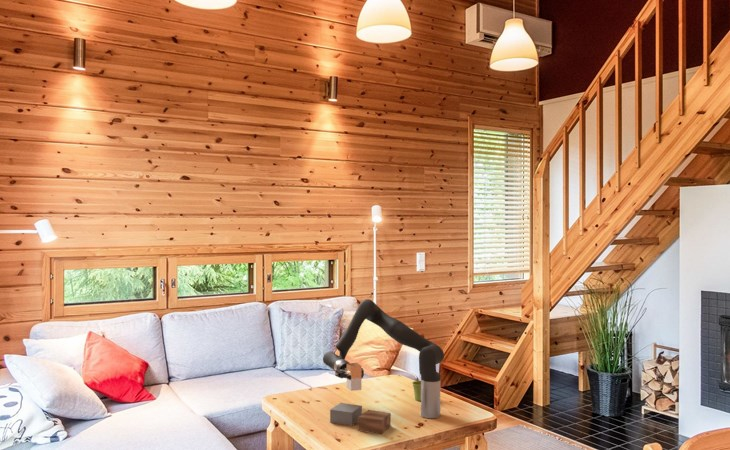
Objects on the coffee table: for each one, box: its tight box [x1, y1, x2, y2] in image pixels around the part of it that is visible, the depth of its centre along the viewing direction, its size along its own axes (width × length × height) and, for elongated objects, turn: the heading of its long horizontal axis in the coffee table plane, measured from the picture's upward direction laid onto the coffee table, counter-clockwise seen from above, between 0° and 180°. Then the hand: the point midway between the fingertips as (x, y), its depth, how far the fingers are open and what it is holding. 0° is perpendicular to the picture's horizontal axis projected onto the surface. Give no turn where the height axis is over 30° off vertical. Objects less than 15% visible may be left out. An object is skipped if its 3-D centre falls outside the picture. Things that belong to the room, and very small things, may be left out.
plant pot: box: [411, 380, 421, 402], centre depth 308 cm, size 9×9×9 cm
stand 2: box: [357, 409, 392, 435], centre depth 265 cm, size 11×11×6 cm
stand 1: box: [329, 402, 363, 427], centre depth 276 cm, size 11×11×6 cm
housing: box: [346, 362, 362, 392], centre depth 273 cm, size 5×6×11 cm
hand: (356, 376), depth 270 cm, fingers closed on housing, 5 cm apart
